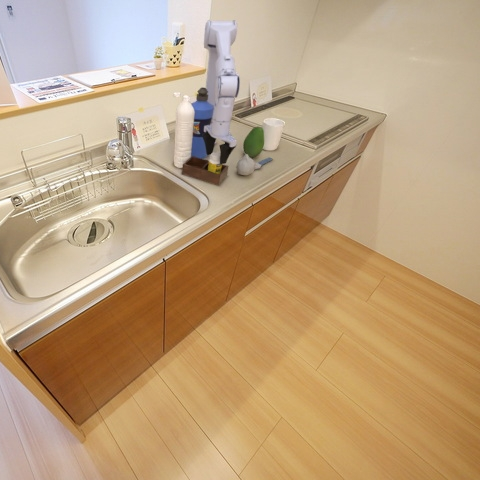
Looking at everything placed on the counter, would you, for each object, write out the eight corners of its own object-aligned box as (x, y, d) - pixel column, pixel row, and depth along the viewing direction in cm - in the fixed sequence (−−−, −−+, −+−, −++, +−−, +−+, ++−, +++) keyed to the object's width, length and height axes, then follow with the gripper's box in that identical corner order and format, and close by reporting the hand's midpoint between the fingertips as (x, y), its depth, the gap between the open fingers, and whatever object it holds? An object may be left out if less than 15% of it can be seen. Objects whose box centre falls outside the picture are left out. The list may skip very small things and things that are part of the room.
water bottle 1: (193, 164, 108) (200, 96, 91) (182, 170, 105) (186, 100, 88) (177, 157, 113) (180, 90, 95) (166, 162, 109) (167, 94, 92)
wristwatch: (234, 172, 104) (234, 170, 103) (266, 157, 112) (267, 155, 112) (243, 177, 101) (243, 174, 100) (275, 161, 110) (276, 159, 109)
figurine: (257, 177, 101) (262, 157, 95) (239, 179, 100) (244, 159, 94) (248, 168, 105) (253, 148, 100) (232, 170, 104) (236, 150, 99)
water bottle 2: (195, 146, 120) (201, 83, 102) (212, 154, 115) (221, 88, 97) (180, 153, 115) (184, 87, 98) (197, 161, 110) (204, 93, 93)
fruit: (237, 156, 113) (243, 127, 105) (245, 150, 117) (252, 121, 109) (255, 162, 109) (263, 132, 101) (263, 155, 114) (271, 126, 106)
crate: (182, 174, 103) (182, 164, 100) (191, 165, 108) (192, 155, 105) (218, 185, 97) (220, 175, 94) (226, 175, 102) (228, 165, 99)
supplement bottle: (215, 180, 98) (218, 158, 92) (204, 176, 100) (207, 154, 95) (222, 175, 101) (226, 153, 95) (211, 171, 103) (214, 149, 97)
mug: (285, 145, 121) (293, 120, 114) (269, 153, 115) (277, 127, 108) (268, 138, 126) (275, 114, 118) (253, 146, 120) (259, 121, 113)
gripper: (247, 124, 83) (238, 164, 93) (217, 109, 92) (212, 148, 102) (229, 128, 81) (222, 169, 90) (200, 113, 90) (196, 152, 99)
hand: (215, 158), depth 96 cm, fingers open, 7 cm apart
